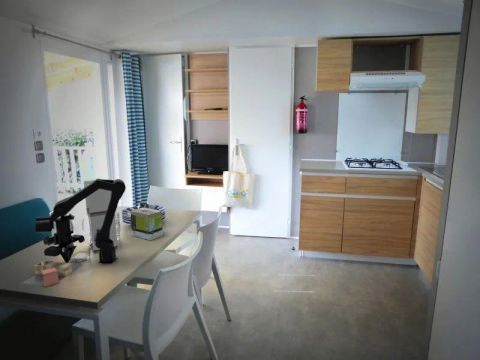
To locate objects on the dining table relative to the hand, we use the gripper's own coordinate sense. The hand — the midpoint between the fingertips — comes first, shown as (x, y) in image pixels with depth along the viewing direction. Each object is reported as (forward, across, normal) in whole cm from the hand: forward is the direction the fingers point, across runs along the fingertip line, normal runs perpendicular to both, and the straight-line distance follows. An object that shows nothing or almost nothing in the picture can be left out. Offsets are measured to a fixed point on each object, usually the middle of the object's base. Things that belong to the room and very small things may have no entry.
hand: (67, 263), depth 153 cm
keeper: (+2, +14, +4) cm, 15 cm away
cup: (+3, -28, -27) cm, 39 cm away
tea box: (+3, -45, +15) cm, 48 cm away
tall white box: (+2, -23, +2) cm, 24 cm away
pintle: (+2, +7, -6) cm, 9 cm away
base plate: (+2, +7, -1) cm, 7 cm away
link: (+2, +6, -1) cm, 7 cm away
